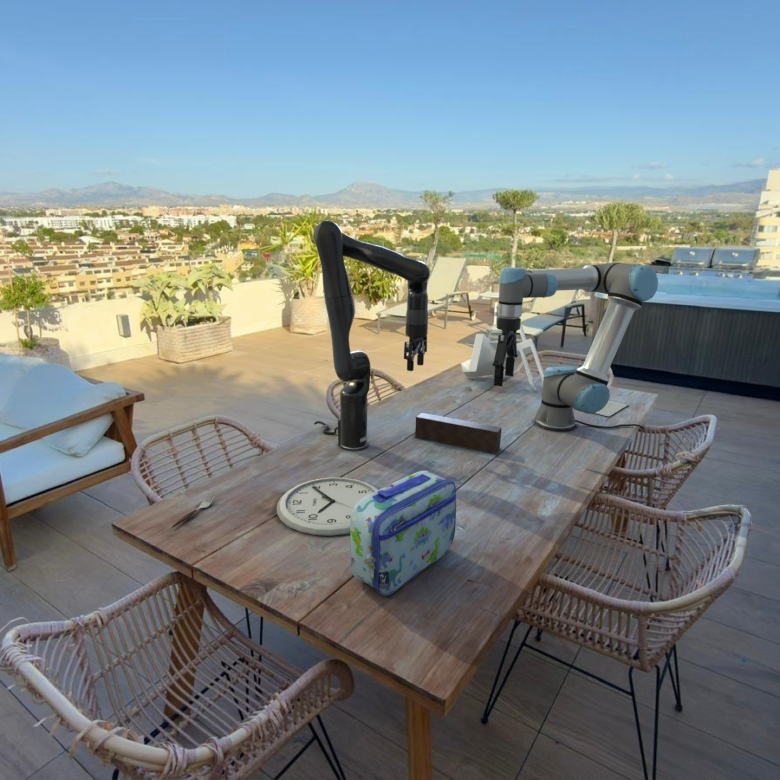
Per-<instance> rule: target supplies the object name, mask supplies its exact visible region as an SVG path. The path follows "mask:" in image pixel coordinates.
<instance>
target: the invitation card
mask: <svg viewBox="0 0 780 780" xmlns="http://www.w3.org/2000/svg"><path fill="white" fill-rule="evenodd" d="M628 406H629V404H627V403H623V402H618V401H614V400H610V399H609V400H608V402H607V404H606V405H605V406H604V408H602V409H601V410H600V411H597V412H596V413H595V414H596V415H600V416H604V417H608V418H609V417H611V416H613V415H614V414H616V413H617V412H619V411H621V410H623V409H624V408H626V407H628Z"/></svg>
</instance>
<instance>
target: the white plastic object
mask: <svg viewBox="0 0 780 780" xmlns="http://www.w3.org/2000/svg"><path fill="white" fill-rule="evenodd" d="M518 331H519V334H520V338H521V341H520V342H516V343H517V353H516V354H518V356H517V357H514V358H515V361H514V363H515V362H517V361H518V360H520V359H521V361H522V364H523V367H524V370H525V373H526V377H527V379H528V382H529V384H530V387H532V389H533V390H534V391H537V390H536V389H537V387H536V383H535V380H534V376H533V373H532V370H531V368H530V365H529V362H528V358H527V355H528V354H531V353H532V355H533V357H534V362H535V364H536V367H537V371H538V374H539V376H540V379H541V382H542V383H543V380H544V374H545V370H544V369H543V366H542V362H541V360H540V356H539V355H538V351H537V347H536V344H535V343H534V341H533V339H532V338H530V337H529V338H527V337H526V334H525V331H524V327H523V325H522V323H521V325H520V329H519V330H518ZM497 344H498V339H495V340H490V339H489V338H488V337H487V336H486V334H485V333H476V334H475V338H474V342H473V347H472V351H471V356H470V359H468V360H466V361H463V362H461V363H460V366H461V371H462V373H463V374H464V376H465V377H466V378H477V377H484V376H493V377H494V375H495V366H493V363H494V359H495V354H496V349H497ZM506 357H509V356H507V353H506ZM506 357H505V361H504V365H503V366H504V370H505V367H506Z"/></svg>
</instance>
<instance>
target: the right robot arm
mask: <svg viewBox="0 0 780 780" xmlns="http://www.w3.org/2000/svg"><path fill="white" fill-rule="evenodd" d="M498 285H499V288H498V289H499V290H498V301H497V302H498V304H497V305H496V309H497V316H498V317H497V318H496V325H495V326H496V329H497V330H500V331H501V334H498V336H497V340H498V344H497V349H496V354H495V359H494V363H493V366H495V375H494V376H493V377H494V378H493V386H495V387H503V385H504V376H506V377H511V378H512V377H514V370H515V362H516V361H515V358H514V357H517V356H518V354H516V353H517V343H518V342H517V332H518V331H519V329H520V325H521V324H522V319H521V317H522V314H523V301H524V299H528V298H529V299H530V298H531V299H532V298H533V299H534V298H536V299H537V298H543V299H544V298H550V297H553V296H554V295H555V294H556V293H557V291H559V292H560V291H578V290H582V291H583V292H586V293H598V294H604V295H607V297H606V298H607V301H608V306H607V308H606V310H605V313H604V315H603V317H602V320H601V322H600V325H599V326H598V329H597V332H596V333H595V336H594V339H593V341H592V343H591V345H590V347H589V350H588V353H587V355H586V357H585V360H584V363H583V364H582V366H581V367H578V368H576V367H574V366H566V365H565V366H564V365H562V366H561V365H559V366H558V365H557V366H549V367H547V368H546V369H545V370H544V380H543V382H542V392H541V402H540V405H539V407H538V410H537V411H536V413H535V416H534V424H535V425H536V426H537V427H539V428H542V429H544V430H549V431H556V432H567V431H572V430H574V429H575V428H576V423H577V424H580V425H584V426H588V427H591V428H592V427H593V428H599V429H615V428H620V427H638V428H640V429H641V430H645V427H644V426H642V425H640V424H638V423H633V424H632V423H629V424H627V423H624V424H623V423H622V424H617V425H612V426H609V425H608V426H606V425H605V426H604V425H596V424H591V423H586V422H583V421H580V420H578V419H576V418H575V417H576V416H575V413H574V409H575V410H577V411H579V412H581V413H585V414H588V415H590V414H591V415H593V414H596V412H597V411H600V410H601V409H602V408H604V406H605V405H606V404H607V402H608V400H610V396H611V394H610V389H609V387H608V384H609V378H608V372H609V370H610V368H611V366H612V364H613V361H614V360H615V356H616V355H617V351H618V350H619V347H620V345H621V343H622V340H623V338H624V336H625V333H626V332H627V329H628V326H629V324H630V323H631V321H632V320H631V319H632V317H633V315H634V313H635V311H637V310H639V309H641V308H642V306H643V303H644V302H647V301H650V300H651V299H652V298H653V297H654V296H655V295H656V293H657V291H658V287H659V278H658V275H657V272H656V270H654V268H652V267H651V266H648V265H645V264H640V263H637V264H636V263H625V262H624V263H623V262H607V263H606V262H605V263H598V264H588V265H587V264H586V265H584V267H579V268H577V267H576V268H550V269H527V270H526V269H525V268H524V267H503V268H502V269H501V271H500V276H499V278H498ZM506 353H507V356H509V357H506ZM505 357H506V367H505V369H504V366H503V365H504V361H505ZM514 361H515V362H514Z"/></svg>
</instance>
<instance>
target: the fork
mask: <svg viewBox="0 0 780 780" xmlns="http://www.w3.org/2000/svg"><path fill="white" fill-rule="evenodd" d="M216 495H217V494H212V493H208V494H207V495H206V497H205V498H204V499H203V501H202V502H201V503H200V505H198V507H197V508H196V509H193V510H192V511H190V512H188V513H187V514H185V515H183V517H181V518H180V519H179V520H178V521H176V522H175V523H174V524H173V525H172V526H171V529H173V528H175V527H176V526H178V525H179V524H181V523H183V522H184V521H186V520H188V519H189V518H191V517H192V516H193V515H194V514H195V513H197V511H198V510H200V509H207V508H208V507H210V505H211V504H212V502H213V501H214V499H215V497H216Z"/></svg>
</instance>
